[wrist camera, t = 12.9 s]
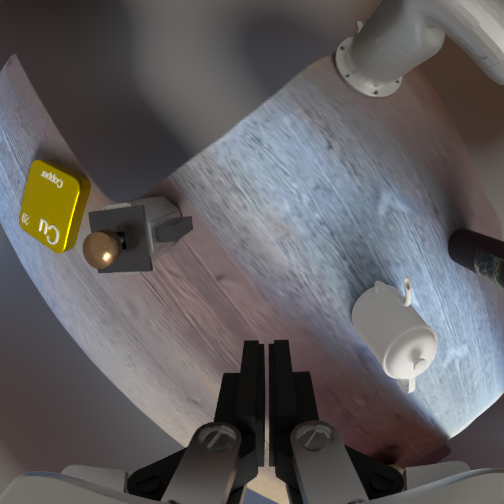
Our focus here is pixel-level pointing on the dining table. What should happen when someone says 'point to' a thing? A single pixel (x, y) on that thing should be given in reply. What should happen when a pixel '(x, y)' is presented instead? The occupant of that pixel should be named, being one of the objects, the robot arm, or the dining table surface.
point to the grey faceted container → (141, 231)
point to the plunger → (102, 248)
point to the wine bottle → (479, 254)
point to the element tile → (54, 204)
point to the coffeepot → (395, 332)
